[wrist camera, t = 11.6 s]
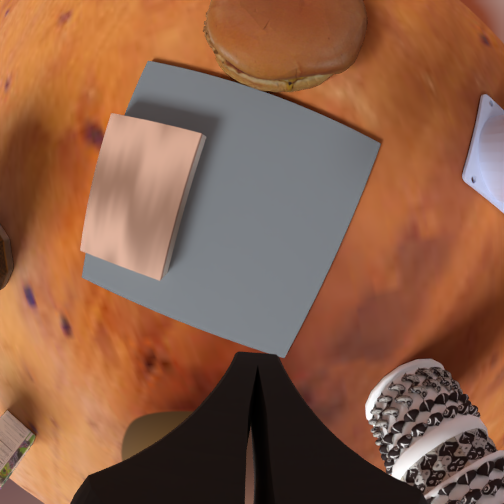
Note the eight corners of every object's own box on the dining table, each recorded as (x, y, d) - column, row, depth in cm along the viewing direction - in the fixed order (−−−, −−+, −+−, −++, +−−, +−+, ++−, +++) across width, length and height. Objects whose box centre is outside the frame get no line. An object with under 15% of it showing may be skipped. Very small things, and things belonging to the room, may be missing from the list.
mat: (378, 144, 17) (380, 143, 17) (283, 354, 21) (284, 358, 20) (150, 62, 16) (148, 60, 16) (84, 275, 20) (81, 277, 19)
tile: (160, 280, 18) (80, 250, 17) (167, 272, 19) (92, 244, 19) (201, 133, 15) (111, 113, 15) (206, 136, 17) (122, 117, 17)
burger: (243, 116, 17) (238, 96, 12) (191, 11, 15) (175, -24, 11) (379, 72, 16) (409, 48, 11) (318, -25, 14) (329, -61, 9)
